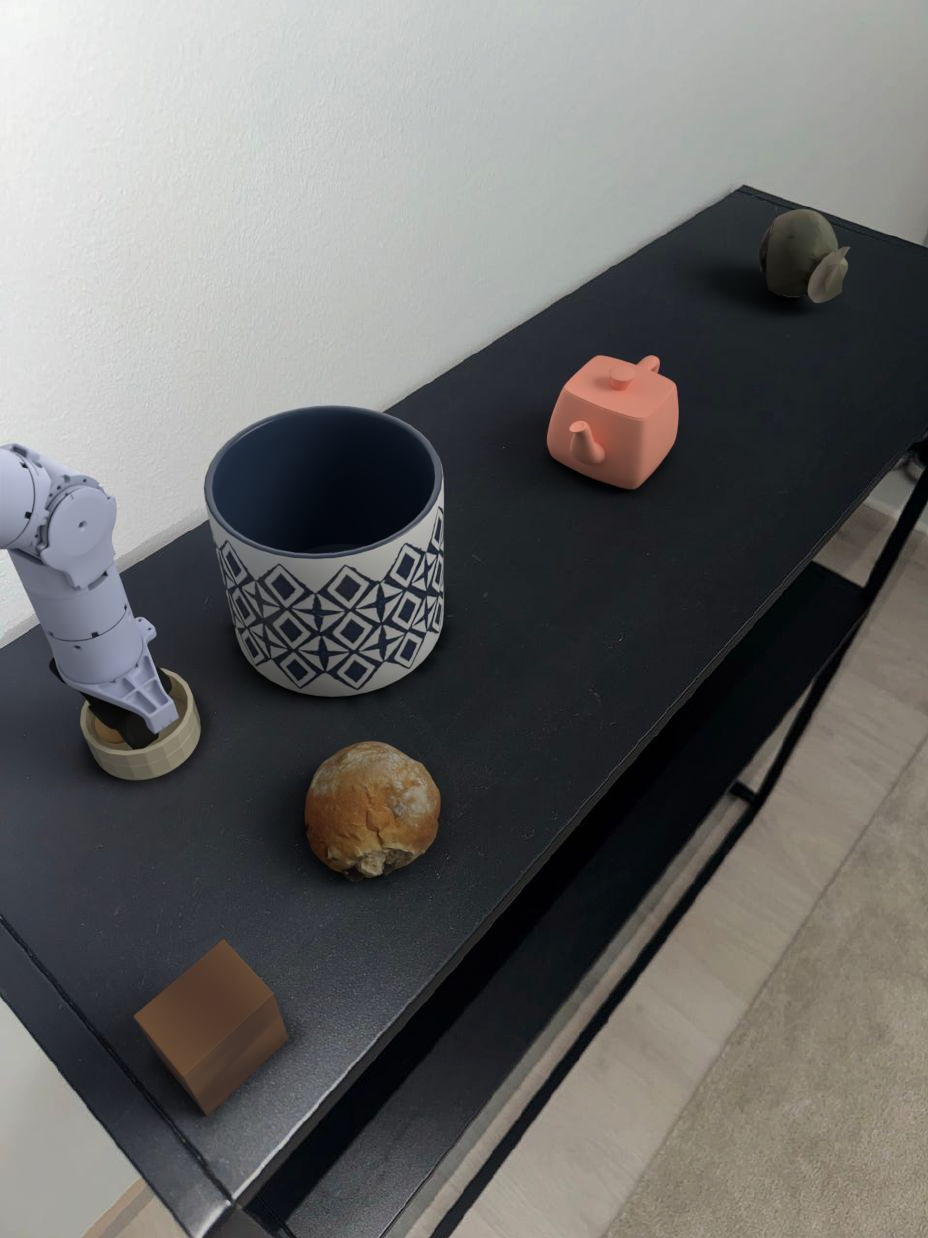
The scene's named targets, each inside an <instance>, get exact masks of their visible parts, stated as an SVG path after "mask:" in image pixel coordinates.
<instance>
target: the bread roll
mask: <svg viewBox="0 0 928 1238" xmlns="http://www.w3.org/2000/svg"><path fill="white" fill-rule="evenodd" d="M309 785H310V786H309V788H308V791H307V794H306V797H305V805H304V825H305V826H304V828H305V832H306V833H305V834H306V836H307V839H308V843H309V847H310V848H311V850H312V852H313V853H314V854H315V855H316V857H317V858H318V859H319V860H320V861H321V862H323V864H325V865H327V866H328V868H330V869H331V870H333V871H335V872H337V873H340V874H342V875H343V876H345V878H347V879H348V880H349V881H351V882H356V883H358V882H360V881H361V880H363V879H364V878H366V879H373V878H376V877H379V876H381V877H386V876H387V875H389V874H391V873H392V872H393V871H395V870H398V869H400V868H403V867H407V866H408V865H409V864H411V863H412V862H414V861H415V860H416V859H418V857H420V856H421V855H424V854H425V853H426V851H427V850H428V849H429V848H430V846H431V845H432V844H433V843H434V841H435V839H436V837H437V833H438V830H439V822H438V819H439V817H440V813H441V803H442V802H441V793H440V790H439V788H438V787H437V784H436V783H435V781H434V780H433V778H432V776H431V774H430V772H429V771H428V770H427V769H426V767H425V766H424V764H423V763H421V762H419V761H417V760H415V759H413V758H411V757H409V756H408V755H407V754H406V753H404V752H403V751H401V750H399V749H397V748H396V747H394V746H392V745H390V744H388V743H385V742H381V741H373V740H368V741H360V742H356V743H353V744H351V745H349V746H346V747H343V748H342V749H340V750H338V751H336V752H335V753H334V754H333V755H332V756H330V757H328V758H327V759H325V760H324V761H323V762H322V763H321V764H320V765H319V766H318V768H317V769H316V771H315V773H314V775H313V777H312V779H311V783H310V784H309Z"/></svg>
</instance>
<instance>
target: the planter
mask: <svg viewBox="0 0 928 1238" xmlns="http://www.w3.org/2000/svg"><path fill="white" fill-rule="evenodd" d="M444 485H445V484H444V472H443V465H442V462H441V459H440V457H439V454H438V452H437V451H436V450H435V448H434V446H433V445H432V443H431V442H430V441H429V440H428V439H427V438H426V437H425V436H424V435H423V434H422V432H420V431H419V430H417V429H415V427H413V426H412V425H411V424H409V423H407V422H405V421H403V420H402V419H399V418H398V417H395V416H392V415H390V414H387V413H384V412H382V411H378V410H374V409H370V408H365V407H360V406H352V405H336V404H331V405H330V404H329V405H312V406H305V407H298V408H293V409H290V410H286V411H281V412H279V413H276V414H272V415H270V416H266V417H264V418H262V419H260V420H258V421H256V422H253V423H251V424H249V425H248V426H247V427H245V428H243V429H242V430H240V431H238V432H237V433H236V434H234V435H233V436H232V437H231V438H230V439H228V440H226V442H225V443H223V445H222V446H221V447H220V449H219V450H218V451H217V452H216V453H215V455H214V457H213V458H212V460H211V461H210V462H209V465H208V468H207V471H206V473H205V475H204V482H203V497H204V503H205V508H206V512H207V516H208V521H209V526H210V530H211V535H212V538H213V543H214V548H215V551H216V556H217V560H218V564H219V570H220V572H221V577H222V582H223V585H224V589H225V593H226V598H227V602H228V606H229V611H230V614H231V615H230V616H231V618H232V619H231V620H232V624H233V627H234V630H235V635H236V638H237V642H238V645H239V647H240V649H241V652H242V653H243V655H244V656H245V658H246V660H247V661H248V663H250V664H251V665H252V666H253V668H254V669H255V670H256V671H257V672H258V673H260V674H261V675H262V676H264V677H265V678H266V679H267V680H269V681H271V682H273V683H275V684H277V685H279V686H281V687H283V688H284V689H288V690H291V691H294V692H297V693H299V694H300V693H301V694H305V695H311V696H316V697H330V698H332V697H333V698H334V697H349V696H356V695H360V694H367V693H369V692H372V691H377V690H379V689H381V688H385V687H387V686H388V685H392V684H393V683H395V682H397V681H399V680H401V679H402V678H404V677H406V675H408V674H410V673H411V672H413V671H414V670H415V669H416V668H417V667H418V666H420V664H422V663H423V662H424V661H425V660H426V658H428V656H429V654H430V653H431V652H432V651H433V649H434V647H435V645H436V643H437V642H438V639H439V638H440V634H441V631H442V628H443V622H444V615H445V614H444V613H445V612H444V611H445V610H444V606H445V604H444V603H445V491H444V490H445V489H444V487H445V486H444Z"/></svg>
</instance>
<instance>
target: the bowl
mask: <svg viewBox="0 0 928 1238" xmlns="http://www.w3.org/2000/svg"><path fill="white" fill-rule="evenodd" d="M159 668H160V669H161V670H162V671H164V672H165V673H166V674H167V675H168V676H169V678H170V680H171V683H172V690H171V691H170V693H169V694H168V696H169V697H170V698H171V699H172V700H173V702H174V705H175V708H176V711H177V714H178V717H179V718H178V719H176V720H175V721H173V722H172V723H171V724H170V725H168V726H167V727H165V728H164V729H162V730H161V731H159V738H158V739H157V740H155V741H154V742H153V743H151V744H150V745H148V746H147V747H145V748H144V749H138V750H133V749H132V748H131V747H130V746H129V745H128V744H127V743H126V742H124V743H121V744H112V743H108V742H106V741H104V740H103V739H102V738H101V737H100V736H99V735H98V733H97V731H96V728H95V719H96V716H95V715H94V714H93V713H92V712H91V711H90V710H89V708H88V706H89V705H90V704H89V703H88V701H87V700H86V699H85V701H84V704H83V706H82V708H81V711H80V719H79V721H80V722H79V725H80V729H81V731H82V734H83V736H84V739H85V742H86V743H87V746H88V747H89V749H90V752H91V754H92V756H93V758H94V760H95V761H96V762H97V764H98V765H99V767H100V768H101V769H102V770H103V771H105V773H108V774H109V775H111V776H113V777H116V778H119V779H123V780H127V781H144V780H151V779H154V778H158V777H160V776H163V775H166V774H168V773H171V772H172V771H173V770H176V769H177V768H179V766H180V765H182V764H183V763H184V762H185V761H186V760H187V759H188V758H189V757H191V755H192V753H193V752H194V750H195V749H196V747H197V745H198V744H199V740H200V736H201V729H202V726H201V725H202V724H201V719H200V718H201V717H200V714H199V711H198V707H197V705H196V701H195V697H194V695H193V693H192V691H191V688H190V686H189V683H188V682H187V681H185V680H184V679H183V678H182V677H181V676H180V675H179V674H178V673H176V672H173V671H171V670H168V669H166V668H162V667H159Z"/></svg>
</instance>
